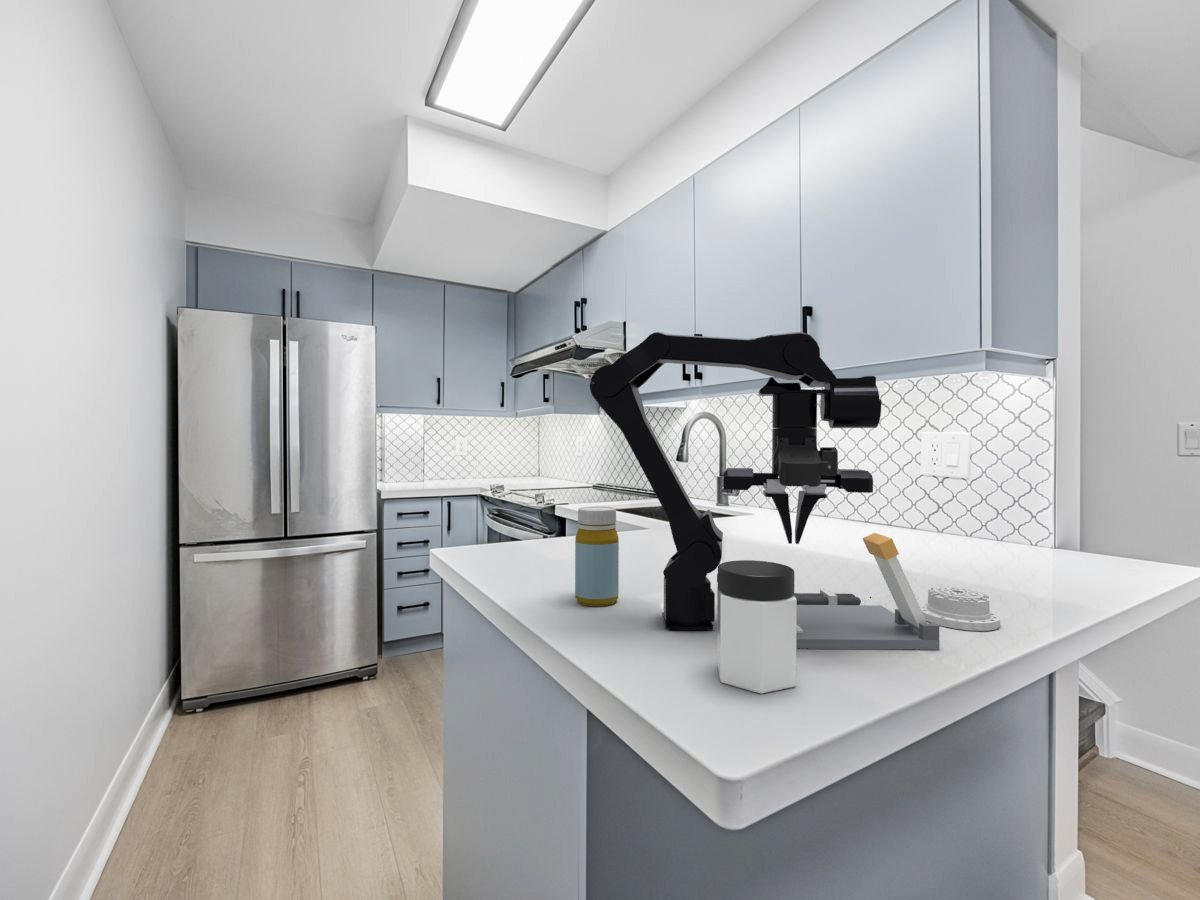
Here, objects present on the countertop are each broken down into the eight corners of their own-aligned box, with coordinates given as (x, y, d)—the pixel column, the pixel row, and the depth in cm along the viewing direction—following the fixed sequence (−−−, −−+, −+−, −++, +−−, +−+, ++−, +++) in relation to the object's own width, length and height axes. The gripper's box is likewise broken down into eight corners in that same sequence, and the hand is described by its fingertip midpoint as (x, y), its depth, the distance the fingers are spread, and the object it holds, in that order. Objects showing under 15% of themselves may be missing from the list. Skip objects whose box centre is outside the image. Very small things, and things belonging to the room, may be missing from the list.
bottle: (592, 593, 96) (592, 505, 96) (626, 599, 92) (627, 508, 92) (566, 602, 90) (566, 509, 90) (601, 610, 86) (602, 512, 86)
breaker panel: (769, 648, 70) (769, 624, 70) (741, 612, 85) (741, 592, 85) (939, 650, 70) (939, 625, 70) (881, 613, 85) (881, 593, 85)
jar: (763, 657, 67) (764, 557, 67) (813, 684, 60) (814, 571, 59) (699, 668, 64) (699, 563, 64) (743, 699, 56) (744, 579, 56)
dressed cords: (738, 606, 88) (738, 595, 88) (733, 599, 92) (733, 588, 92) (863, 607, 88) (863, 596, 88) (852, 600, 92) (852, 589, 92)
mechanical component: (932, 630, 78) (1014, 635, 76) (933, 598, 78) (1014, 603, 76) (908, 609, 88) (980, 613, 85) (909, 581, 87) (980, 585, 85)
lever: (921, 637, 71) (878, 544, 71) (902, 625, 76) (862, 538, 75) (934, 631, 71) (891, 538, 71) (914, 619, 76) (874, 532, 75)
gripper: (723, 427, 70) (722, 551, 71) (885, 426, 66) (884, 558, 66) (723, 429, 81) (723, 537, 81) (863, 428, 77) (862, 542, 77)
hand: (793, 543), depth 76 cm, fingers closed
